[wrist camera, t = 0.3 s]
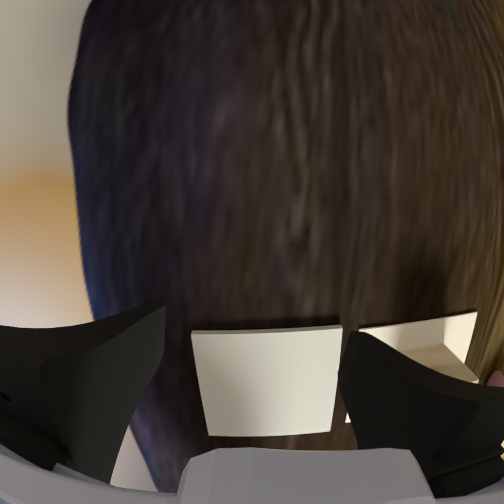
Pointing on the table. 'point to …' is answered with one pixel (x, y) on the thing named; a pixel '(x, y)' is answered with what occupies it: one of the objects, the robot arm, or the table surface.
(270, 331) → the grey mat
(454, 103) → the table surface
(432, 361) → the maple block
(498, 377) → the video game controller
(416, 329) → the cream card
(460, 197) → the table surface
